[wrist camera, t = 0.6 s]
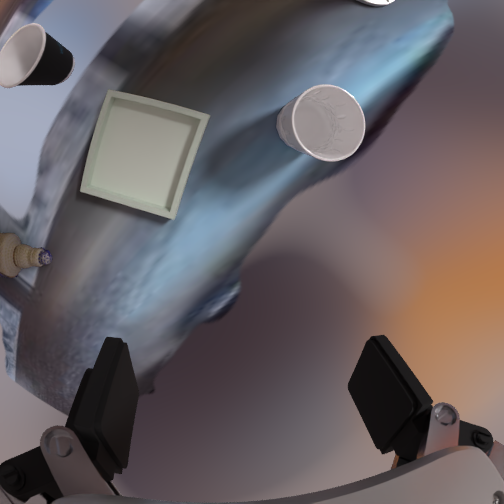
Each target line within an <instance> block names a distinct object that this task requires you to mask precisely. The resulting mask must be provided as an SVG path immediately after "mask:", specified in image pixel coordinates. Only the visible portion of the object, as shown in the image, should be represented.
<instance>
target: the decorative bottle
mask: <svg viewBox="0 0 504 504" xmlns="http://www.w3.org/2000/svg"><path fill="white" fill-rule="evenodd" d="M43 250H45V249H44V248H42V247H41V248H32V247H30V246H28V245H25V244H21V241H20V239H19V237H18V236H17V235H15V234H14V233H0V277H6V278H13V277H17V276H18V273H19V272H20V270H21V268H23V269H24V268H29V267H31V266H35V267H41V266H43V265H47V264H49V263H51V262H52V260H53V258H52V254H51V253H50V252H49V251H48V250H45V251H43Z"/></svg>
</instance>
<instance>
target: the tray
mask: <svg viewBox="0 0 504 504" xmlns="http://www.w3.org/2000/svg"><path fill="white" fill-rule="evenodd" d="M209 119H210V115H208V114H205V113H201V112H198V111H195V110H191V109H188V108H184V107H181V106H177V105H174V104H170V103H166V102H162V101H159V100H155V99H151V98H146V97H142V96H138V95H133V94H129V93H124V92H119V91H114V90H109V89H108V91H107V94H106V97H105V100H104V102H103V105H102V108H101V111H100V114H99V117H98V121H97V124H96V127H95V131H94V134H93V138H92V141H91V145H90V149H89V153H88V157H87V161H86V165H85V169H84V174H83V179H82V184H81V189H80V192H83V193H87V194H90V195H94V196H97V197H100V198H104V199H107V200H110V201H114V202H117V203H120V204H124V205H127V206H130V207H133V208H137V209H140V210H143V211H147V212H150V213H153V214H156V215H160V216H163V217H166V218H170V219H173V220H174V219H175V217H176V215H177V211H178V208H179V205H180V202H181V198H182V195H183V192H184V189H185V186H186V183H187V180H188V177H189V174H190V171H191V168H192V165H193V162H194V159H195V156H196V154H197V151H198V148H199V145H200V142H201V140H202V137H203V134H204V132H205V129H206V126H207V124H208V121H209Z"/></svg>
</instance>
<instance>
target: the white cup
mask: <svg viewBox="0 0 504 504" xmlns="http://www.w3.org/2000/svg"><path fill="white" fill-rule="evenodd" d="M276 128H277V131H278V134H279V137H280V138H281V139H282V140H283V141H284V142H285V144H286V145H287V146H289V147H292V148H294V149H295V150H297V151H299V152H301V153H304V154H306V155H309V156H312V157H315V158H317V159H320V160H324V161H339V160H342V159H345V158H347V157H349V156H350V155H352V154H353V153H354V152H355V151H356V150H357V149H358V147H359V146H360V144H361V142H362V140H363V137H364V133H365V119H364V115H363V112H362V109H361V107H360V105H359V104H358V102H357V101H356V99H355V98H354V97H353V96H352V95H351V94H350V93H348V92H347V91H345V90H344V89H342V88H339V87H337V86H333V85H318V86H314V87H312V88H309V89H308V90H306V91H305V92H303V93H301V94H300V95H298V96H297V97H295V98H294V99H292V100H291V101H290V102H289V103H288V104H287V105H285V106H284V107H283V108H282V110H281V111H280V113H279V114H278V116H277V123H276Z"/></svg>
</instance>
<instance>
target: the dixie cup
mask: <svg viewBox="0 0 504 504" xmlns="http://www.w3.org/2000/svg"><path fill="white" fill-rule="evenodd" d="M74 66H75V60H74V57H73V55H72V53H71V52H70V51H68V50H67V49H66V48H65V47H64V46H62V45H61V44H60V43H59V42H57V41H56V40H55V39H54V38H52V37H51V36H50V35H49V34H47V33H46V32H45V30H44V28H43V27H42V26H41V25H39V24H36V23H32V24H28V25H25V26H23V27H21V28H20V29H18V30H17V31H16V32H15V33H14V34H13V35H12V36H11V37H10V38H9V39H8V40H7V42H6V43H5V45H4V46H3V48H2V50H1V52H0V85H1V86H3V87H5V88H11V87H15V86H18V85H56V84H59V83H62V82H64V81H65V80H66V79H68V78H69V76H70V75H71V74H72V72H73V69H74Z"/></svg>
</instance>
